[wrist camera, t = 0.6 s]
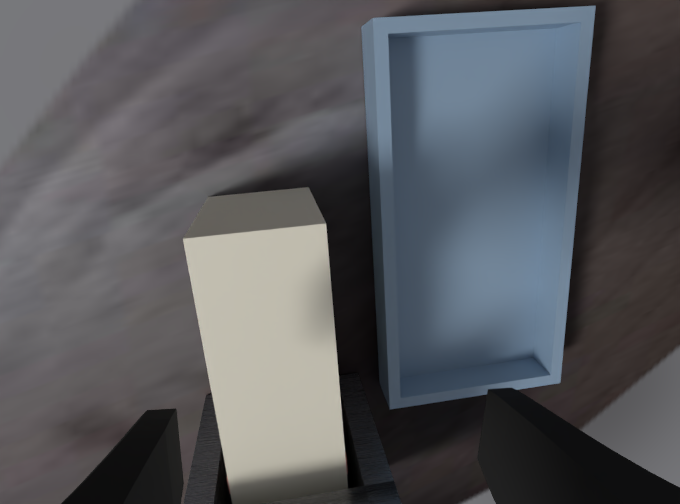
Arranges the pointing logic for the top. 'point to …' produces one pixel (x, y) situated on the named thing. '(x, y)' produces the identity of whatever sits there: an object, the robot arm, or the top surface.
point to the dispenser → (358, 500)
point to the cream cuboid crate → (269, 342)
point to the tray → (473, 195)
